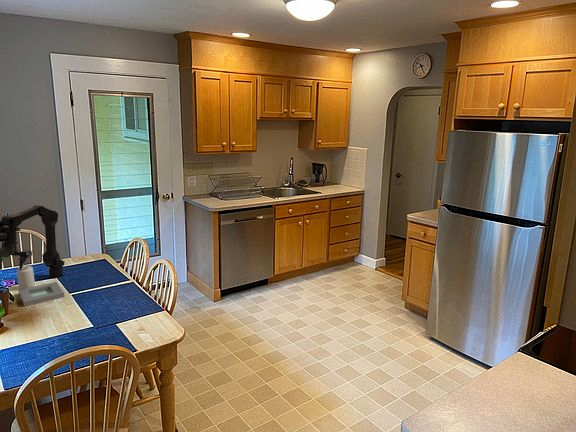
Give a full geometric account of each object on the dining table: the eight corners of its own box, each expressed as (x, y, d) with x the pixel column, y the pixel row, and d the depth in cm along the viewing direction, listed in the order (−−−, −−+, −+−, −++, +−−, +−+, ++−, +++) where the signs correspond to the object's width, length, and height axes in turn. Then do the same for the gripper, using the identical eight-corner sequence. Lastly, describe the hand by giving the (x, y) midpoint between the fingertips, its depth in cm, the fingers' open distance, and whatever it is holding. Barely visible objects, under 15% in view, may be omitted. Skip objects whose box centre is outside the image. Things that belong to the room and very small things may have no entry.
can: (22, 291, 223) (19, 270, 220) (17, 287, 228) (14, 266, 225) (37, 286, 229) (34, 266, 226) (31, 283, 233) (29, 263, 230)
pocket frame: (56, 285, 231) (56, 281, 230) (64, 297, 217) (64, 292, 217) (19, 294, 219) (18, 289, 219) (24, 306, 206) (24, 301, 205)
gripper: (-19, 242, 203) (-18, 273, 205) (22, 243, 206) (23, 274, 208) (-7, 238, 214) (-7, 268, 215) (32, 239, 217) (32, 268, 219)
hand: (10, 269), depth 214 cm, fingers open, 9 cm apart
